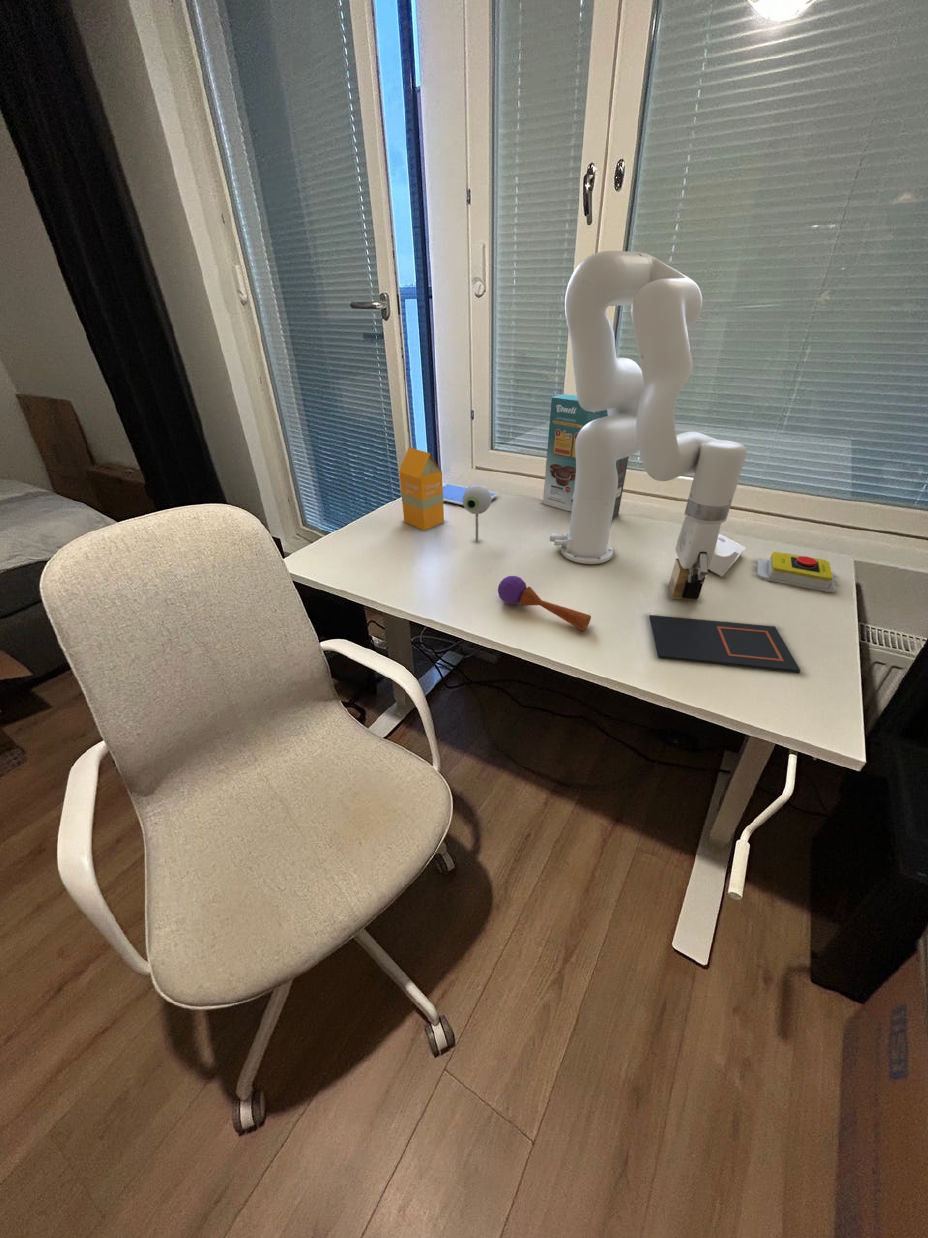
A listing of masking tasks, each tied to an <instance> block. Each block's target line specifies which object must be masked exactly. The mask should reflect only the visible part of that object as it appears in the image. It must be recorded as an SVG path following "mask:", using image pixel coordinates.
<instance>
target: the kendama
mask: <svg viewBox="0 0 928 1238" xmlns="http://www.w3.org/2000/svg"><path fill="white" fill-rule="evenodd" d="M497 593H498V597H499V598H500V600H501V601H502V602H504V603H505V604H508V605H518V604H520V606H524V607H525V606H540V607H541V608H543V609H545V610H547V611H548V612H550V613H551V614H552V615H555V616H557V617H559V618H560V619H562V620H563V621H565V622H567V623H569V624H570V625H572V626H573V627H575V628H577V629H579V630H581V631H582V632H585V631H586V630H587V629H588V627H589V625H590V623H591V619H592V615H591V614H587V613H584V612H581V611H578V610H575V609H572V608H568V607H565V606H561V605H558V604H556V603H553V602H548V601H546V600H542V599H541V597H540V596H539V595H538V594H537V593H536V592H535V591H534V590H533V588H532V587H531V586H527V583H526V582H525V580H523V579H522V578H521V577H519V576H517V575H508V576H506V577H504V578H503V579H501V581H500V582H499V584H498V586H497Z"/></svg>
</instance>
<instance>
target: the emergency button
mask: <svg viewBox="0 0 928 1238" xmlns="http://www.w3.org/2000/svg"><path fill="white" fill-rule="evenodd" d="M834 577H835V576H834V573H833V572H832V568H831V564H830V561H829V560H826V559H821V558H815V557H810V556H807V555H806V556H805V555H800V554H799V555H798V554H793V553H787V552H781V551H772V553H771V555H770V557H769V559H765V558H759V559H757V562H756V578H757V579H760V580H764V581H769V582H774V583H780V584H784V585H789V586H795V587H800V588H803V589H804V588H805V589H810V590H815V591H821V592H826V593H836V590H837V585H836V581H835V578H834Z"/></svg>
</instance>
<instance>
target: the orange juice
mask: <svg viewBox="0 0 928 1238" xmlns="http://www.w3.org/2000/svg"><path fill="white" fill-rule="evenodd" d="M398 472H399V483H400V492H401V494H400V495H401V503H402V513H403V514H402V515H403V522H404V523H406V524H408V525H411V526H413V527H416V528H418V529H420V530H423V531H426V530H429V529H431V528H433V527H436V526H438V525H441V524H443V523H445V513H444V512H445V511H444V501H443V486H444V485H443V471H442V469H441V468H440V467H439V465H438V464H437V463H436V460H435V459H434V457H433V456H432V455H431V453H430V452H427V451H424V450H420V449H416V448H413V447H409V446H408V447H407V450H406V453H405V456H404V458H403V461H402V464H401V466H400V468H399V471H398Z"/></svg>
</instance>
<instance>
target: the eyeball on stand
mask: <svg viewBox="0 0 928 1238" xmlns="http://www.w3.org/2000/svg"><path fill="white" fill-rule="evenodd" d="M466 488H467V489H466V491H465V492H464V495H463V505H462V506H463V507H464V509H465V510H466V511H467V512H469V513H470V514H472V515H475V542H476V543H479V515H481V514H484V513H485V512H486V511H488V509H489V508H490V506H491V504H492V500H491V495H490V493H491V492H490V490H489V489H488V488H487V487H486V486H484V485H482V484H472V485H470V486H468V487H466Z"/></svg>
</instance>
